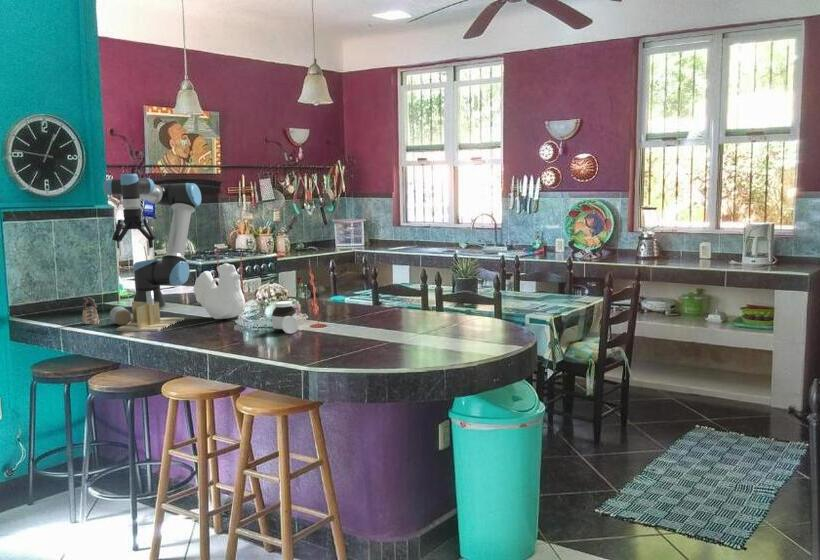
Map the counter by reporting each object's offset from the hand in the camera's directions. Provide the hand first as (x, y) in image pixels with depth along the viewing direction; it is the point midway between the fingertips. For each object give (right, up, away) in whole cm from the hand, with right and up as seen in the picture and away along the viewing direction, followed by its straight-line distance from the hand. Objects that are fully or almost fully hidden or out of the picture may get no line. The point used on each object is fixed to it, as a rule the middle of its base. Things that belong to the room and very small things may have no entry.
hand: (135, 255), depth 351 cm
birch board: (+12, -31, -15) cm, 36 cm away
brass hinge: (+9, -30, -19) cm, 37 cm away
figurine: (-18, -31, -6) cm, 36 cm away
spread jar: (+75, -32, -39) cm, 90 cm away
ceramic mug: (-2, -31, -9) cm, 32 cm away
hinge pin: (+13, -30, -16) cm, 36 cm away
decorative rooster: (+39, -28, -3) cm, 49 cm away
